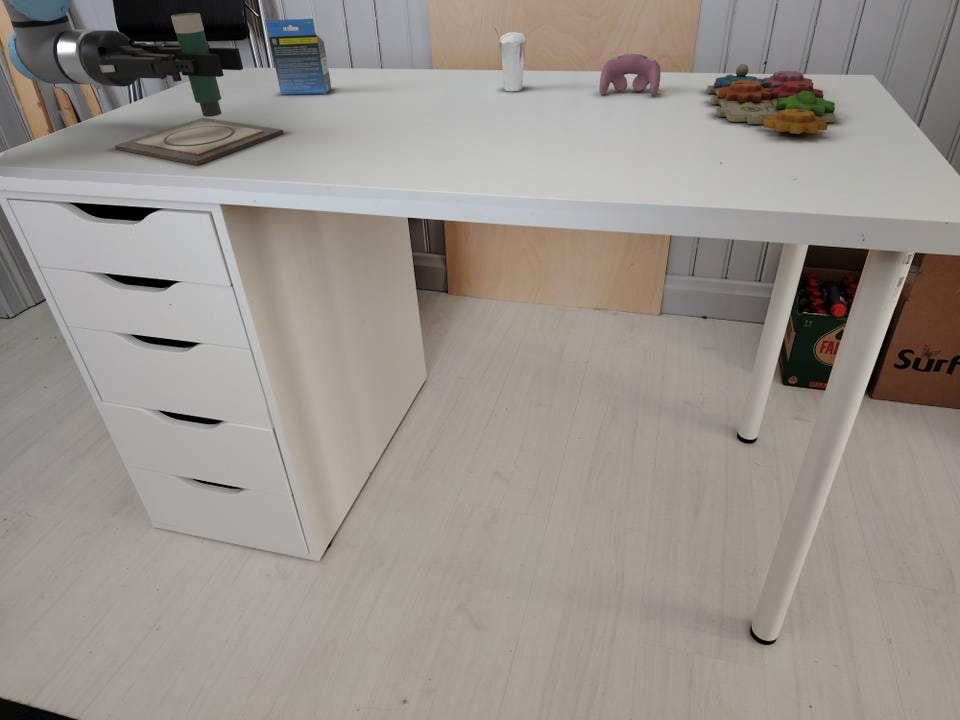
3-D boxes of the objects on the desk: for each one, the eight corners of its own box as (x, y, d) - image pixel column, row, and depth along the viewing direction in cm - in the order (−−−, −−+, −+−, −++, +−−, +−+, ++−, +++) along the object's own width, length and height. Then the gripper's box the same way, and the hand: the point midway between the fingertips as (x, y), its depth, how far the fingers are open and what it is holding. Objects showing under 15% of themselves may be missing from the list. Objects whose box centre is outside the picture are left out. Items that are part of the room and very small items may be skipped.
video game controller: (657, 101, 110) (663, 58, 109) (658, 94, 105) (663, 49, 104) (599, 100, 112) (604, 57, 111) (597, 93, 108) (602, 49, 107)
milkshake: (492, 88, 116) (491, 26, 110) (520, 85, 117) (520, 24, 112) (500, 94, 112) (499, 30, 107) (529, 90, 114) (529, 27, 108)
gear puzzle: (857, 143, 83) (866, 110, 80) (725, 141, 86) (730, 109, 83) (805, 87, 108) (811, 60, 105) (704, 87, 110) (708, 61, 108)
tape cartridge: (332, 89, 121) (320, 15, 114) (326, 94, 118) (313, 18, 111) (287, 90, 122) (272, 16, 115) (279, 95, 119) (264, 20, 112)
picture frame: (115, 149, 94) (113, 143, 94) (203, 121, 106) (202, 115, 105) (197, 165, 87) (195, 159, 86) (283, 133, 98) (282, 127, 97)
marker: (193, 116, 94) (164, 16, 87) (213, 110, 97) (187, 12, 89) (210, 119, 93) (183, 17, 85) (230, 112, 95) (205, 13, 88)
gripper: (151, 73, 105) (271, 78, 97) (65, 98, 92) (196, 106, 85) (135, 21, 100) (259, 22, 93) (42, 40, 88) (178, 43, 80)
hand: (229, 62), depth 89 cm, fingers closed on marker, 3 cm apart
